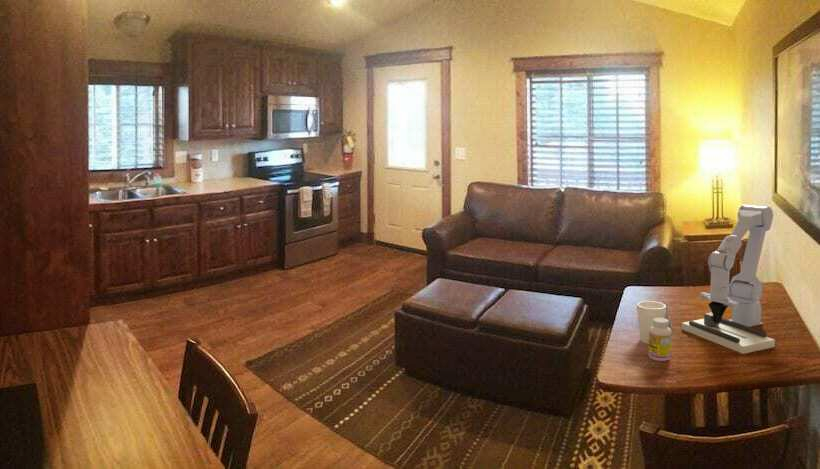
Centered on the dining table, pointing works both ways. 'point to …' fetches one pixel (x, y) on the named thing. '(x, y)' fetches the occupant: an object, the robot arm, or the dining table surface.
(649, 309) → the foam cup
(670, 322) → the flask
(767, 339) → the panel
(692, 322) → the dark grey guard rails
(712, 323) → the block
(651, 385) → the dining table surface
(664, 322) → the supplement bottle
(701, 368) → the dining table surface
